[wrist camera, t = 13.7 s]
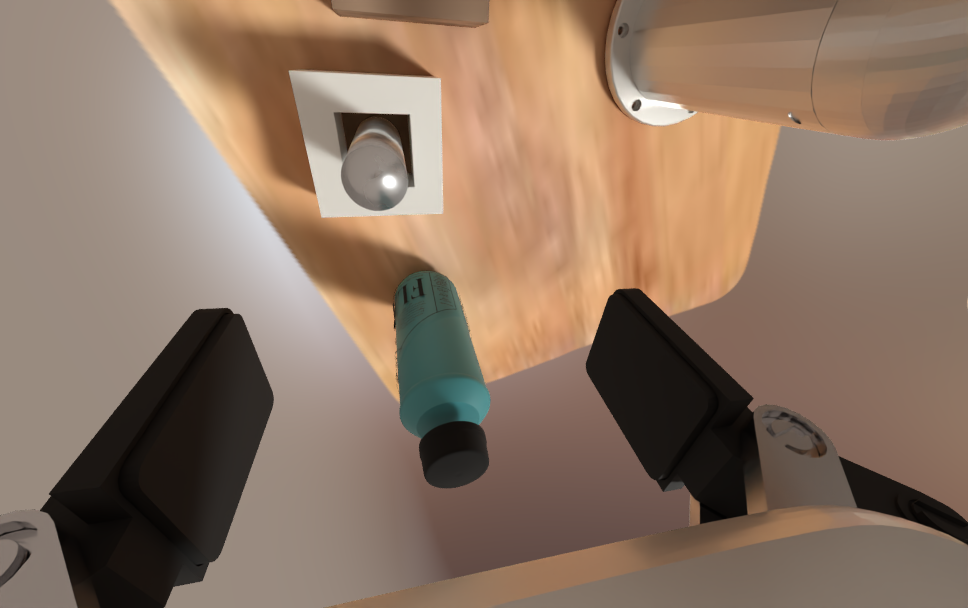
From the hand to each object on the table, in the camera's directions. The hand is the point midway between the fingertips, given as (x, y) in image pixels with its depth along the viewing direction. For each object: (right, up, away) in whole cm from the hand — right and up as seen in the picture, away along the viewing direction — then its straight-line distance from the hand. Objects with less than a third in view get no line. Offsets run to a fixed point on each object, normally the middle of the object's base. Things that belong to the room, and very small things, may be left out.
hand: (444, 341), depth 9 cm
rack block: (-7, +14, +18) cm, 24 cm away
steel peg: (-7, +14, +18) cm, 24 cm away
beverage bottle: (-5, +3, +27) cm, 27 cm away
